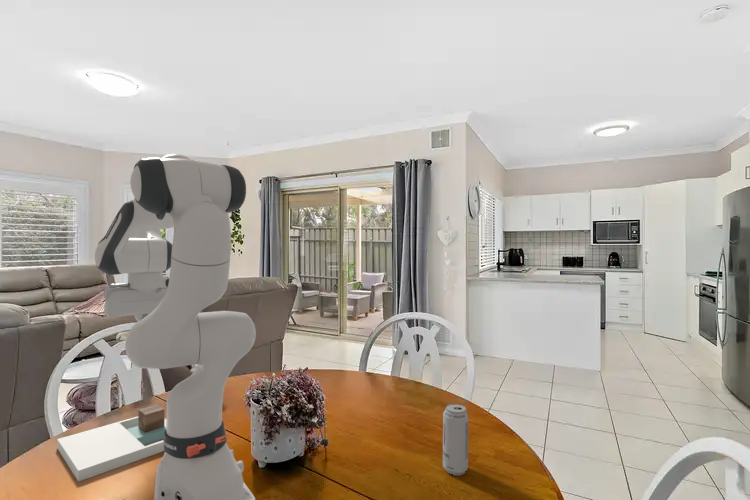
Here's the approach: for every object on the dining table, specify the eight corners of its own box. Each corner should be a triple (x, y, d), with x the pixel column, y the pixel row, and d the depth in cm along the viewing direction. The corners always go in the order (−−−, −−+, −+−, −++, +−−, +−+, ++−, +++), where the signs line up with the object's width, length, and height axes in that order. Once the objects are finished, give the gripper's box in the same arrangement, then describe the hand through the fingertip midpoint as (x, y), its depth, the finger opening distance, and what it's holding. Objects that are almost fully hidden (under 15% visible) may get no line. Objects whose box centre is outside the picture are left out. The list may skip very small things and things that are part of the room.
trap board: (186, 443, 108) (186, 433, 108) (78, 481, 90) (78, 470, 90) (155, 419, 122) (155, 411, 122) (57, 448, 104) (57, 439, 104)
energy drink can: (441, 462, 99) (442, 402, 99) (466, 463, 98) (466, 403, 98) (443, 475, 93) (443, 412, 93) (469, 477, 92) (470, 413, 92)
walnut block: (164, 426, 112) (164, 409, 112) (145, 432, 108) (145, 414, 108) (157, 421, 115) (157, 404, 115) (138, 427, 111) (138, 409, 111)
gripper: (107, 285, 107) (107, 335, 107) (184, 280, 122) (184, 325, 122) (100, 283, 111) (100, 332, 111) (176, 279, 127) (176, 322, 127)
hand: (145, 328), depth 117 cm, fingers closed
